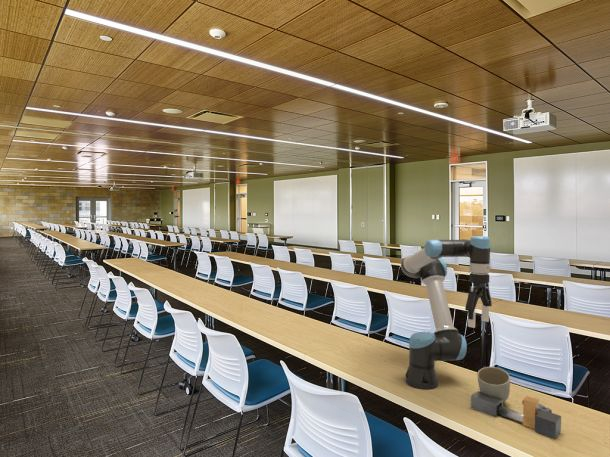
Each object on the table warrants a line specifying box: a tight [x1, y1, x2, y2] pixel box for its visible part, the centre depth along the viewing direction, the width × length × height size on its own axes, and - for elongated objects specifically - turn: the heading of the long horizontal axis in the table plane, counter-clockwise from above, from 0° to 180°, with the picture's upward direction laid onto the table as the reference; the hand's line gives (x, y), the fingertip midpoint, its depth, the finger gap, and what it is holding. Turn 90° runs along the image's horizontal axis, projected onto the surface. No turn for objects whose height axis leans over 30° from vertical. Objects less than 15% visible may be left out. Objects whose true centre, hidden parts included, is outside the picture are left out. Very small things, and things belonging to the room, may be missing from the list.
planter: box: [477, 366, 511, 403], centre depth 163 cm, size 12×12×11 cm
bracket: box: [521, 399, 553, 413], centre depth 159 cm, size 4×10×2 cm, turn 22°
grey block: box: [470, 390, 504, 418], centre depth 157 cm, size 10×7×5 cm
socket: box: [534, 410, 562, 440], centre depth 141 cm, size 6×7×6 cm
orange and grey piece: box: [497, 395, 540, 430], centre depth 147 cm, size 19×4×10 cm, turn 43°
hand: (478, 324), depth 160 cm, fingers open, 13 cm apart
